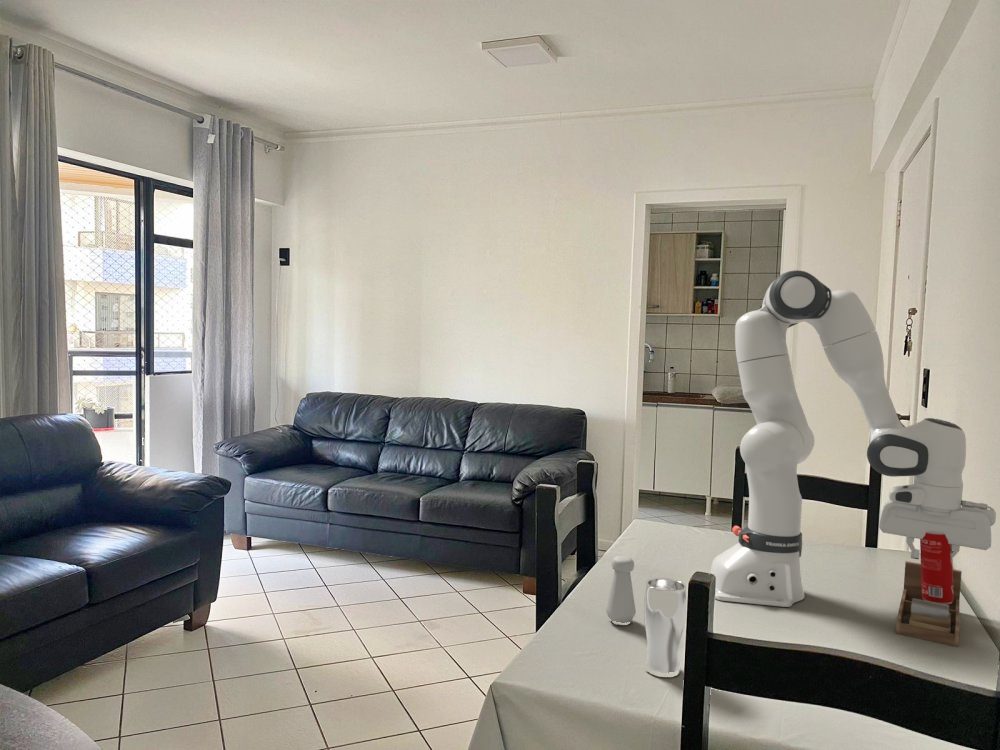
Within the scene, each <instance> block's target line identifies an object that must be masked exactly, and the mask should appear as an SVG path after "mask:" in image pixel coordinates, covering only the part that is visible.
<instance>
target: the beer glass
mask: <svg viewBox="0 0 1000 750" xmlns="http://www.w3.org/2000/svg"><path fill="white" fill-rule="evenodd" d="M645 585H646V586H645V594H644V604H643V617H644V626H645V635H646V636H645V637H646V644H647V646H646V648H647V649H646V655H645V659H644V660H645V661H644V664H646V665H647V667H649V668H650V669H652V670H654V671H657V672H661V673H667V672H668V673H669V672H675V671H677V670H678V669H679V667H680V659H679V655H680V645H681V641H682V637H683V633H684V629H685V624H686V623H685V622H686V616H687V615H686V614H687V590H686V589H687V586H686V584H685V583H684V582H682V581H679V580H678V579H674V578H668V577H653V578H649V579H647V580H646V583H645ZM680 668H681V667H680Z"/></svg>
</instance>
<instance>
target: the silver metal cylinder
mask: <svg viewBox="0 0 1000 750" xmlns="http://www.w3.org/2000/svg"><path fill="white" fill-rule="evenodd" d="M950 616H951V613H949V605H945V604H940V603H935V602H930V601H925V600H920V599H915V598H913V599H912V605H911V614H910V616H909V621H908V622H909V623H908V624H910V625H914V626H919V627H924V628H928V629H933V630H938V631H942V632H947V633H951V626H952V625H951V621H950Z"/></svg>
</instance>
